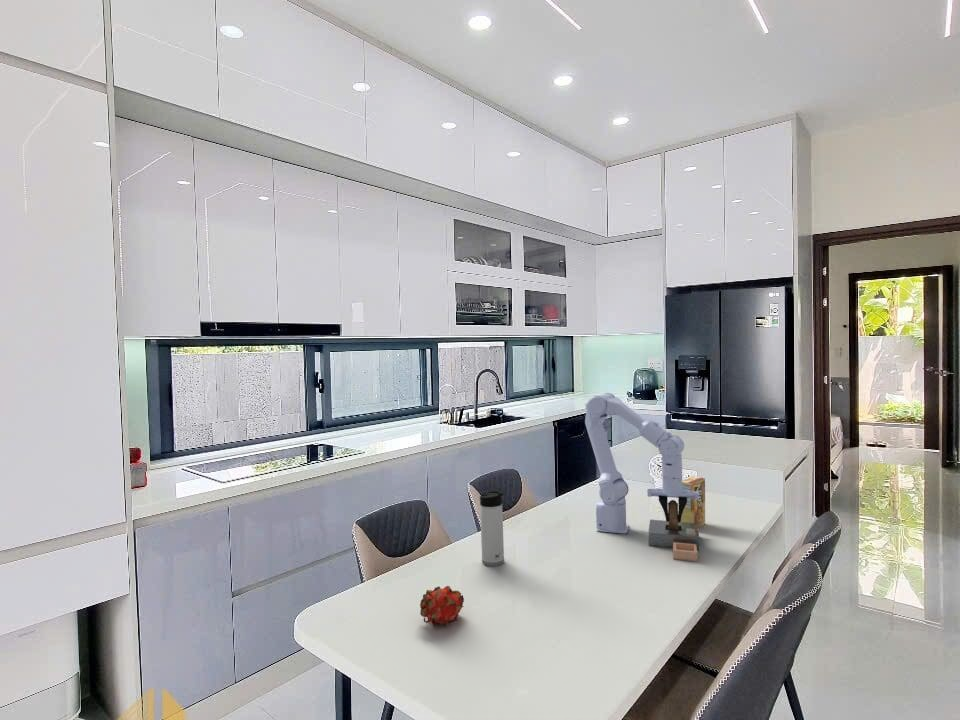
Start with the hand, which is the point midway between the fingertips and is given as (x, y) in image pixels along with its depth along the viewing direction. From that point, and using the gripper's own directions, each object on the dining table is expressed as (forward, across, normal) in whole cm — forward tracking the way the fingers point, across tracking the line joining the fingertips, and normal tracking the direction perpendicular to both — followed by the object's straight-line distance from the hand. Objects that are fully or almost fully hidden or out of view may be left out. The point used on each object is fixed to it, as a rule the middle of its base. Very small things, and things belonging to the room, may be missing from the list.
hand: (673, 521), depth 162 cm
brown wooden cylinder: (+3, 0, 0) cm, 4 cm away
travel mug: (+6, -48, -29) cm, 56 cm away
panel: (+6, 0, 0) cm, 6 cm away
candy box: (+6, +6, +15) cm, 17 cm away
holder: (+6, +3, -11) cm, 13 cm away
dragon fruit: (+6, -49, -62) cm, 79 cm away
